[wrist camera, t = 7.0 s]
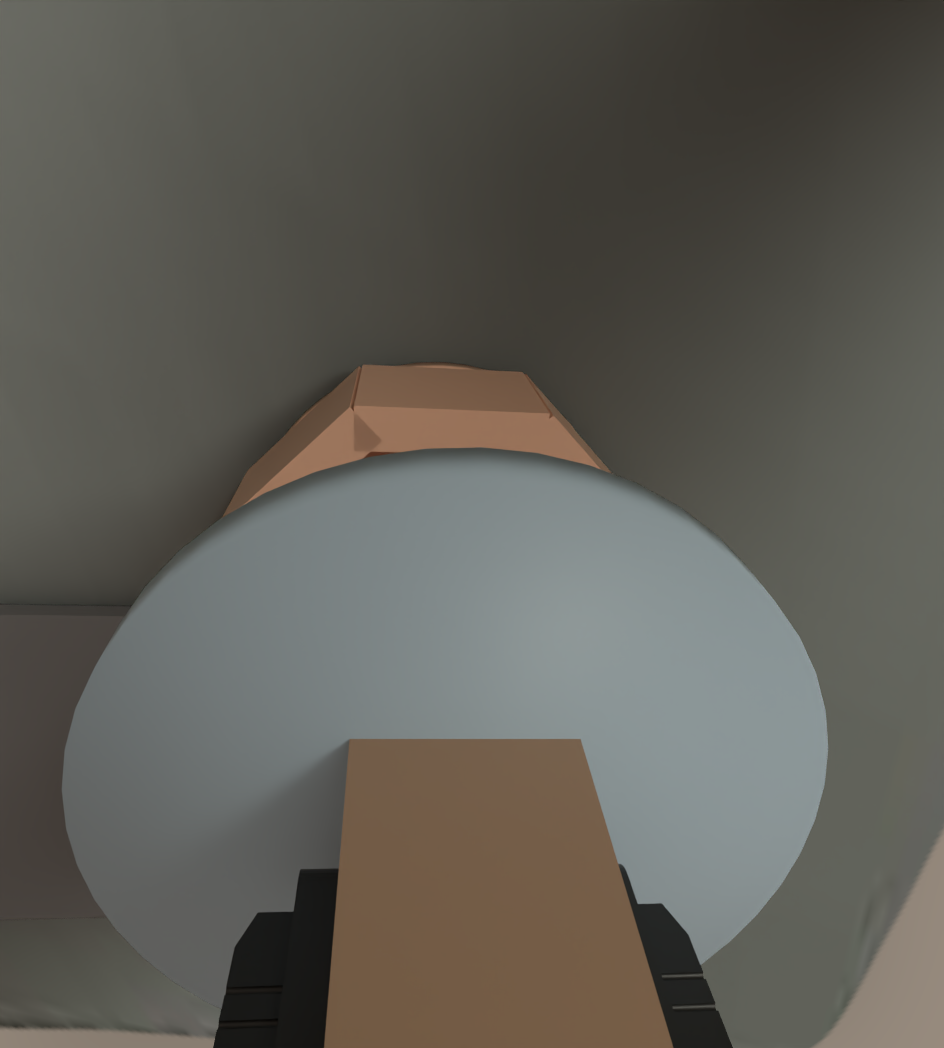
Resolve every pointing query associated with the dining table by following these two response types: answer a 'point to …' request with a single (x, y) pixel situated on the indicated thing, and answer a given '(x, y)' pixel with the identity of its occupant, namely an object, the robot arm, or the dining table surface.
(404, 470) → the lid
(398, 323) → the dining table surface
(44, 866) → the mat
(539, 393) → the bowl
